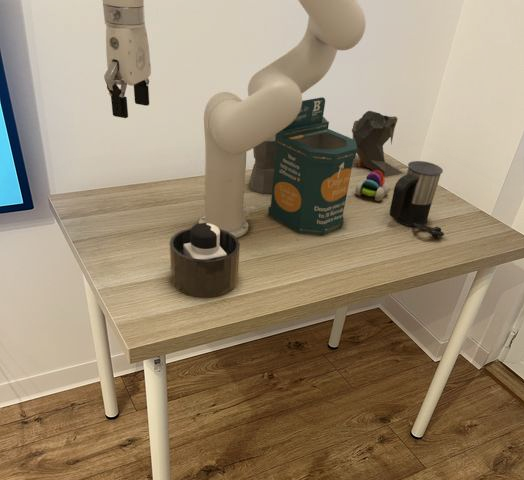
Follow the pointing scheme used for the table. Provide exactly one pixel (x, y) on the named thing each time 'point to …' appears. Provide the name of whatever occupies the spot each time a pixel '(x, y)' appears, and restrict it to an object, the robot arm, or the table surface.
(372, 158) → the grey walrus sculpture
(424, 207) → the milk frother
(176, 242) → the bucket
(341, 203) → the donation box
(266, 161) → the coffeepot
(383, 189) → the rainbow caterpillar toy
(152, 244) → the table surface
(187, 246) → the medicine bottle
